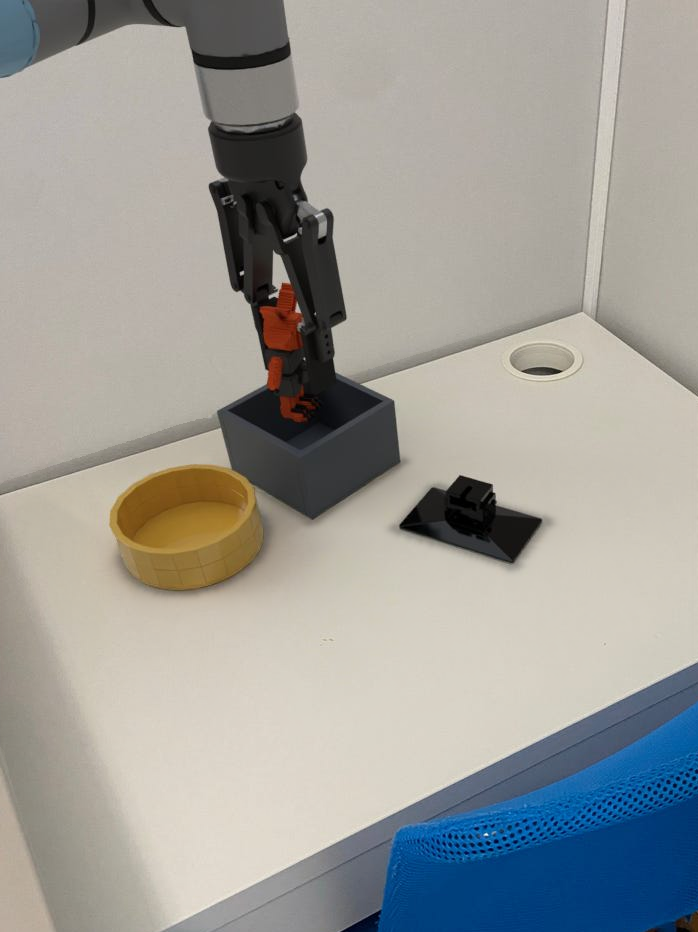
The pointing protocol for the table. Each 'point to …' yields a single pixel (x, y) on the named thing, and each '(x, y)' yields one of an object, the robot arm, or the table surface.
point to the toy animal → (287, 357)
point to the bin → (312, 444)
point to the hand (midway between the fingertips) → (300, 375)
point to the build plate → (472, 520)
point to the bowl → (187, 526)
